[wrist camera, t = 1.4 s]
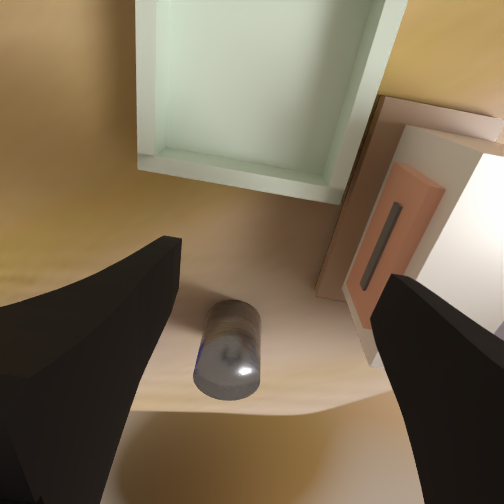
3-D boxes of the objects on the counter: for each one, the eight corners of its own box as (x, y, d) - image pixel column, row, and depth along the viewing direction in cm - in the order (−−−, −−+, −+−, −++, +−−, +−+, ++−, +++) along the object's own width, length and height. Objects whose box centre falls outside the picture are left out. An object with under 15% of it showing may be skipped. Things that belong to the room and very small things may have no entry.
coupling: (265, 304, 22) (265, 361, 18) (255, 344, 24) (253, 404, 20) (209, 296, 22) (195, 351, 18) (204, 336, 24) (190, 395, 20)
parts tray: (402, -45, 13) (430, -69, 11) (330, 189, 18) (339, 205, 16) (156, -100, 12) (133, -137, 10) (153, 157, 17) (137, 169, 15)
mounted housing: (496, 118, 16) (643, 147, 10) (399, 303, 22) (452, 393, 15) (380, 95, 15) (457, 110, 9) (314, 289, 21) (334, 376, 15)
